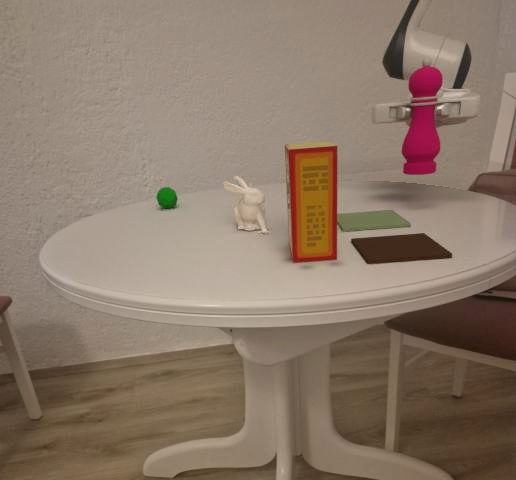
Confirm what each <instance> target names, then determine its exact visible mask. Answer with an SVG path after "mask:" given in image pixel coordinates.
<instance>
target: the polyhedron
mask: <svg viewBox="0 0 516 480" xmlns="http://www.w3.org/2000/svg"><path fill="white" fill-rule="evenodd" d="M178 199H179V198H178V195H177V192H176V190H175V189H173V188H171V187H169V186H164V187H161V188H160V189H159V190H158V191H157V194H156V201H157V203H158V205H159V206H160V207H161V208H163V209H165V210H170V209H173V208H174V207H176V205H177V202H178Z"/></svg>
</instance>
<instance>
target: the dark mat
mask: <svg viewBox="0 0 516 480" xmlns="http://www.w3.org/2000/svg"><path fill="white" fill-rule="evenodd" d="M350 243H351V244H352V245H353V246H354V248H355V249H356V251H357V252H358V253H359V254H360V256H361V257H362V258H363V260H364V261H365V262H366V263H367V265H372V264H387V263H388V264H389V263H398V262H412V261H424V260H426V261H427V260H441V259H452V258H453V253H452V252H451V251H449V250H448V249H447V248H446V247H444V246H443V245H441V244H440V243H438V242H437V241H436V240H434V239H433V238H431V237H430V236H429V235H428V234H426V233H425V232H420V233H407V234H405V233H404V234H392V235H380V236H368V237H355V238H354V237H353V238H351V239H350Z"/></svg>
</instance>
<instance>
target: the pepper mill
mask: <svg viewBox="0 0 516 480" xmlns="http://www.w3.org/2000/svg"><path fill="white" fill-rule="evenodd" d="M431 64H432V59H431V58H430V57H425V58H424V59H423V60H422V66H423V67H422V68H419V69H417V70H416V71H415V72H414V73H413V74H412V75H411V77H410V79H409V81H408V91H409V93H411V94H412V96H413V98H411V99H410V100H411V104H410V106H412V121H411V125H410V127H409V128H408V129H407V132H406V135H405V137H404V139H403V142H402V146H401V155H402V157H403V158H404V159H405V161H406V162H404V163H403V166H402V167H403V168H402V173H403V174H404V175H407V176H408V175H409V176H421V175H422V176H423V175H430V174H435V173H436V172H437V162H436V161H435V159H436V158H437V156H438V155H439V154H440V152H441V140H440V139H441V138H440V136H439V133H438V130H437V128H436V126H435V121H434V112H435V105H436V104H438V96H436V95H437V92H438V91H439V90H440V88H441V87H442V83H443V78H442V74H441V72H440V70H438V69H437V68H435V67H430V66H431Z"/></svg>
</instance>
